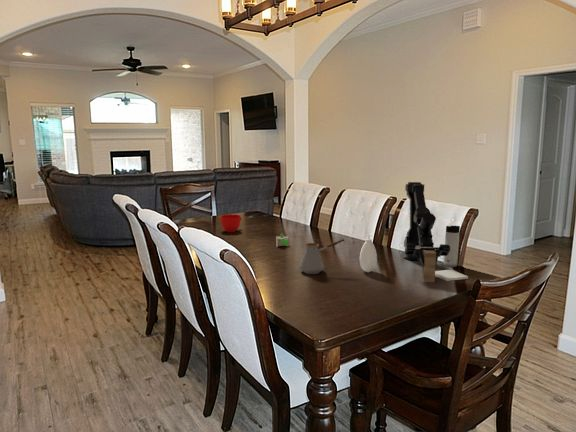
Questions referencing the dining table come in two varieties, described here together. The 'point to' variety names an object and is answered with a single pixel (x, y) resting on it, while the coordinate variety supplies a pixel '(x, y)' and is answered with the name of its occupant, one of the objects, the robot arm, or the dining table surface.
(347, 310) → the dining table surface
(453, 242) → the travel mug
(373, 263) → the white teardrop shape
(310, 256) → the coffee pot
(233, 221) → the ceramic cup
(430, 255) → the walnut block
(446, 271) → the felt coaster
